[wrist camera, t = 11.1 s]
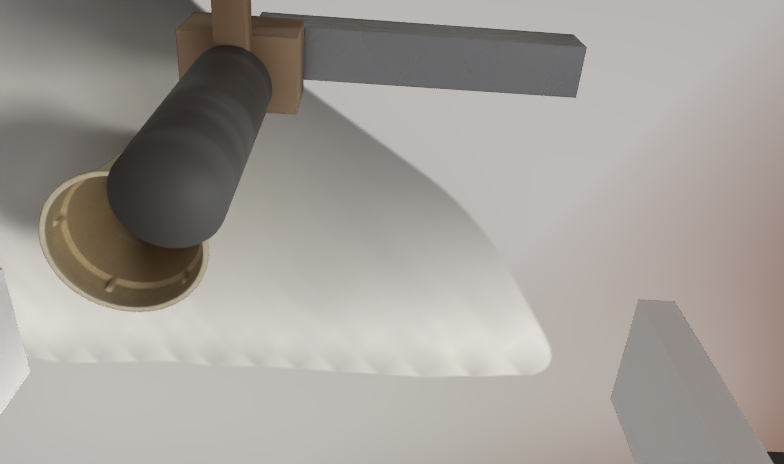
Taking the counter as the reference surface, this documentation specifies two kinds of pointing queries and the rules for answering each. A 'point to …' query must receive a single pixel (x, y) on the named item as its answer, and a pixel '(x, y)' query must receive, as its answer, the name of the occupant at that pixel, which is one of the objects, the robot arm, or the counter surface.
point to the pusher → (207, 123)
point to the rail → (440, 56)
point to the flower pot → (112, 251)
